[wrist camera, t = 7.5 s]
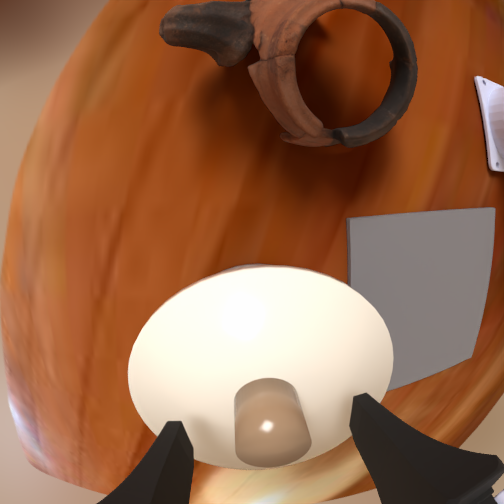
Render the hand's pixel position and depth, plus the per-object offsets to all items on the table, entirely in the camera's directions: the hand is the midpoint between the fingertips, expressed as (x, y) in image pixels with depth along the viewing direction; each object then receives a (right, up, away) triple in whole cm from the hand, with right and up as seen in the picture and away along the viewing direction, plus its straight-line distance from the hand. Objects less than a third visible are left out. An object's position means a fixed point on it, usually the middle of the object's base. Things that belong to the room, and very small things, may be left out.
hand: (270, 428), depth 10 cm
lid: (0, 0, +2) cm, 3 cm away
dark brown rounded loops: (+1, +18, +4) cm, 18 cm away
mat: (+12, +3, +8) cm, 15 cm away
